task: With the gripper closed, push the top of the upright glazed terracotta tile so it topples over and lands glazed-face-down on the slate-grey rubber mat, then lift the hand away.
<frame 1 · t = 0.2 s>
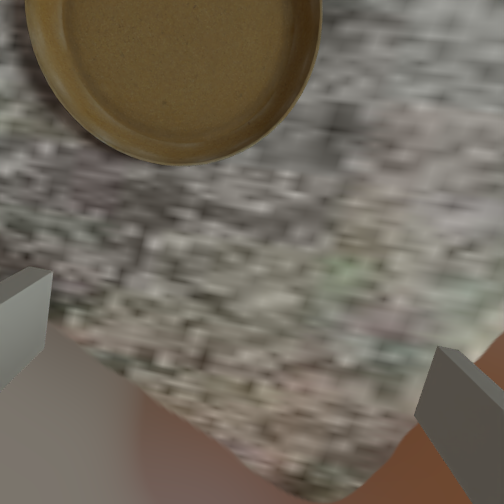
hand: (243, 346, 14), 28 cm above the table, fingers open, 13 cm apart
plant saucer: (181, 27, 38), on the table
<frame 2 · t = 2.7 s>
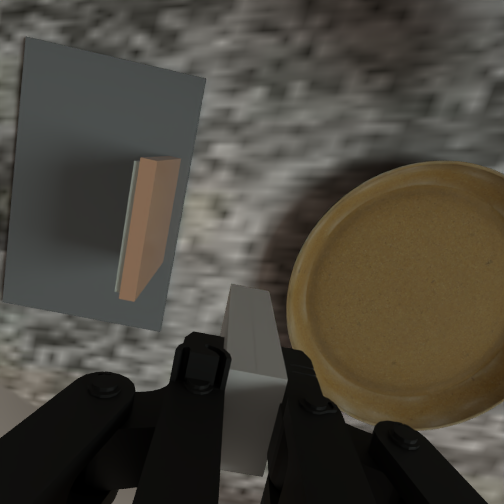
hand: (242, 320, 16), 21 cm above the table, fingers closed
mat: (100, 195, 36), on the table
plant saucer: (412, 293, 39), on the table
tile: (163, 210, 36), resting on mat
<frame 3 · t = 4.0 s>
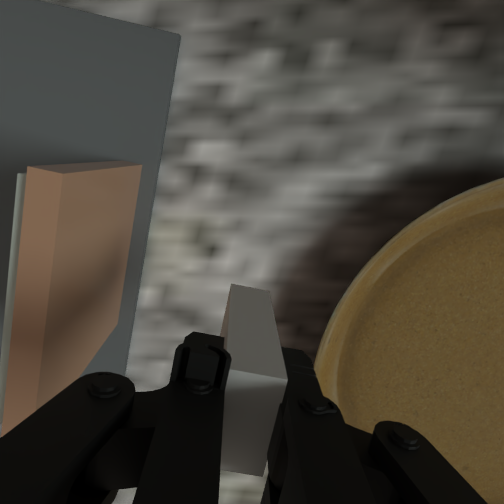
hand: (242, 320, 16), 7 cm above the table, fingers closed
mat: (16, 222, 23), on the table
plant saucer: (495, 365, 26), on the table
tile: (116, 245, 23), resting on mat
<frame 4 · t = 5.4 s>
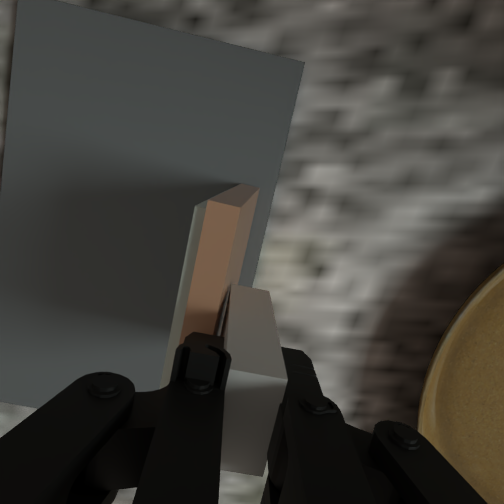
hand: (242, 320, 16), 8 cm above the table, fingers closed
mat: (131, 242, 23), on the table
tile: (229, 265, 23), resting on mat, tilted 6°
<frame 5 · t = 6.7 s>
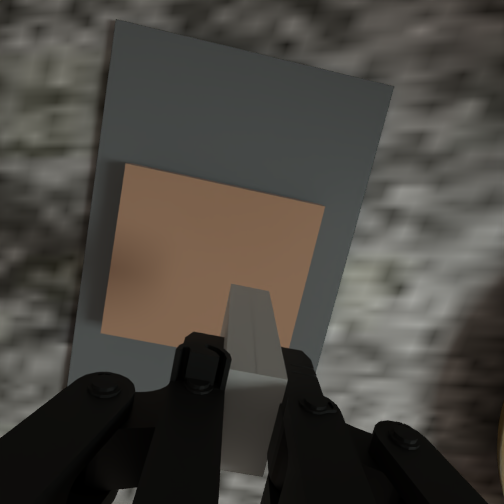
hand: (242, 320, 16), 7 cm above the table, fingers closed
mat: (215, 263, 23), on the table
tile: (301, 286, 23), point 1 cm above the table, tilted 90°, touching mat
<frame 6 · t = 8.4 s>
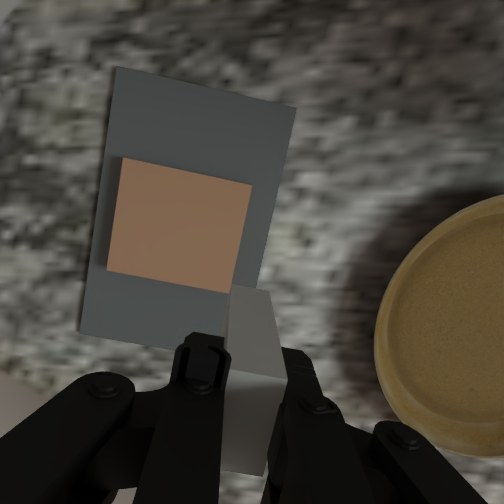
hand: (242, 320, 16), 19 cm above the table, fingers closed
mat: (183, 225, 35), on the table
plant saucer: (490, 319, 39), on the table
tile: (240, 239, 34), point 1 cm above the table, tilted 90°, touching mat
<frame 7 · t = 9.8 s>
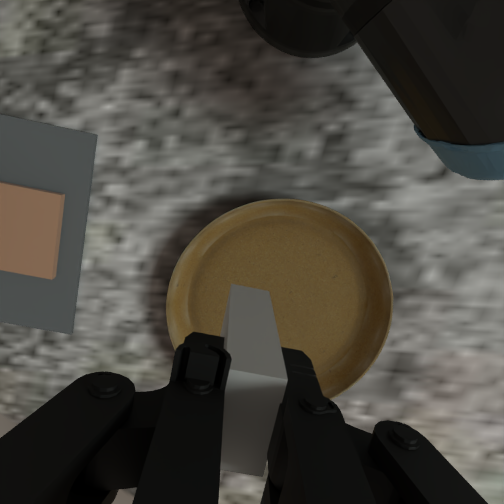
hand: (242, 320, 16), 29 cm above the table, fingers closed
mat: (17, 226, 45), on the table
plant saucer: (277, 301, 48), on the table
tile: (59, 237, 44), point 1 cm above the table, tilted 90°, touching mat
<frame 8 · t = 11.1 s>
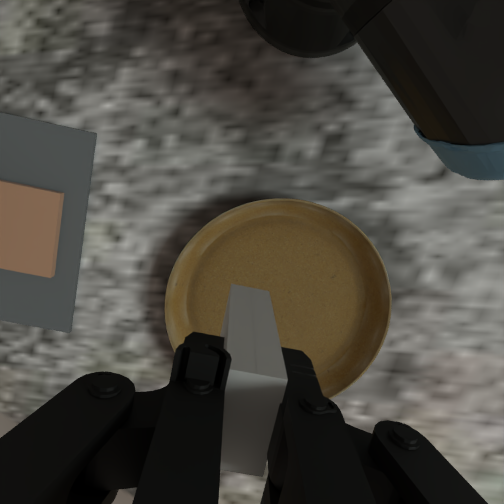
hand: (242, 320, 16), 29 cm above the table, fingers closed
mat: (16, 224, 45), on the table
plant saucer: (276, 301, 48), on the table
tile: (58, 235, 44), point 1 cm above the table, tilted 90°, touching mat
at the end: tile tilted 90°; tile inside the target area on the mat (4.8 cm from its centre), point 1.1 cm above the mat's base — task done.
